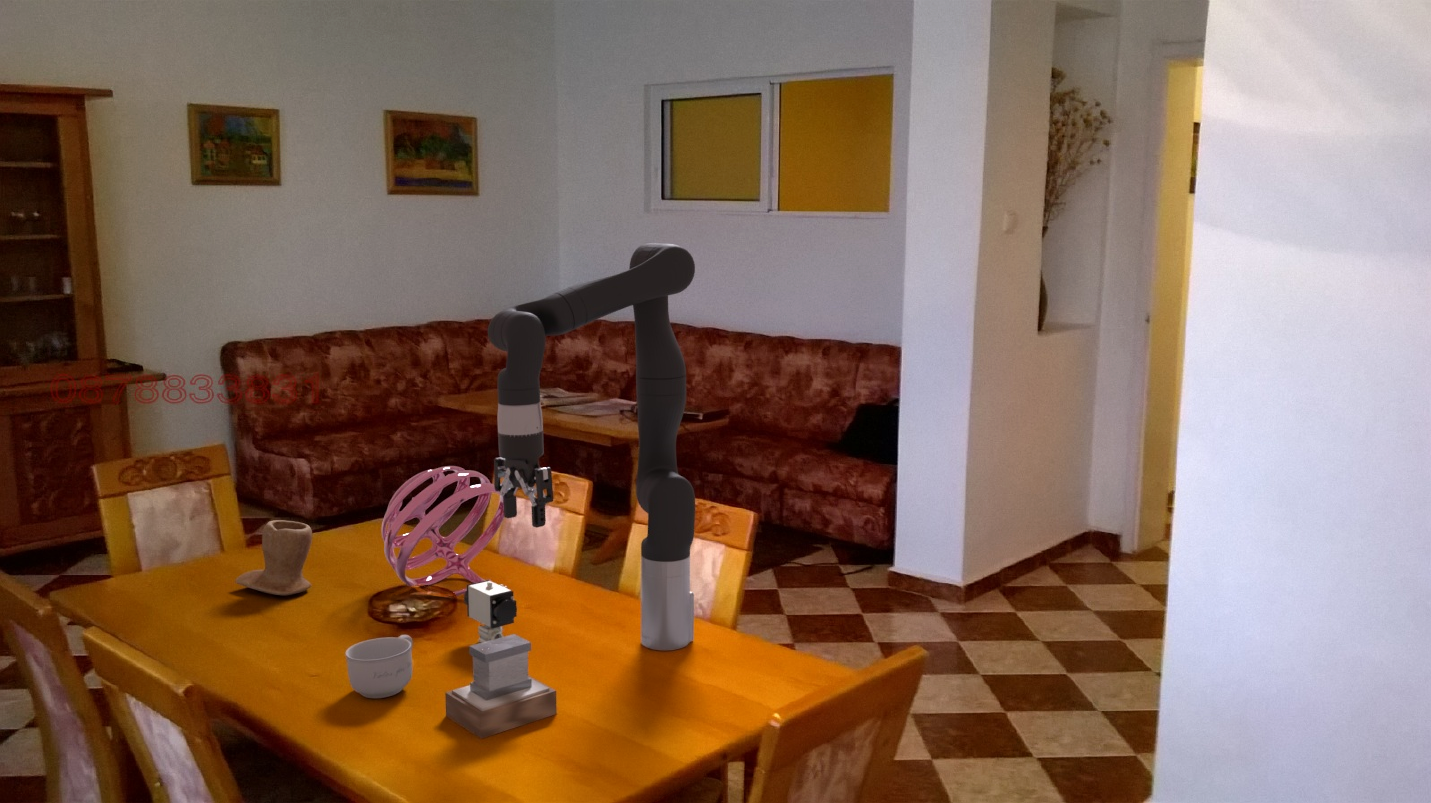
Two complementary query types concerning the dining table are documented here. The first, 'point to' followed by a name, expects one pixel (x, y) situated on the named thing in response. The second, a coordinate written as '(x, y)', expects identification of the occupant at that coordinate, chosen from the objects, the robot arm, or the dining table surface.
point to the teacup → (380, 666)
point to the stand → (500, 708)
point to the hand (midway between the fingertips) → (524, 521)
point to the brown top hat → (281, 559)
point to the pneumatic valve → (490, 608)
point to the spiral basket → (438, 525)
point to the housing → (500, 666)
